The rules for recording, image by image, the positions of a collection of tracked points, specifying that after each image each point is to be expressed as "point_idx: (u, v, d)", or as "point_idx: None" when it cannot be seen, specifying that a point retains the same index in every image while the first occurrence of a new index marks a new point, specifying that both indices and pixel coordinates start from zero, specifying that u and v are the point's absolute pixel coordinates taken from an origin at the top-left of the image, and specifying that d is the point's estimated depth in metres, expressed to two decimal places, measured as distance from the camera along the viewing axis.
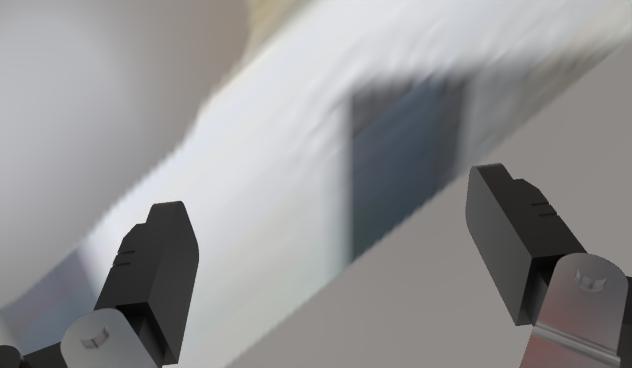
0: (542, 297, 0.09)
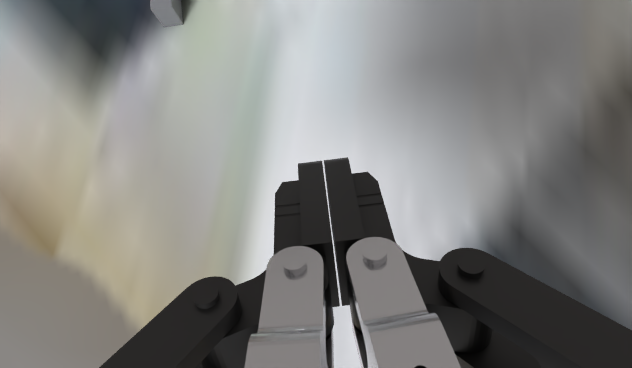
0: (347, 277, 0.10)
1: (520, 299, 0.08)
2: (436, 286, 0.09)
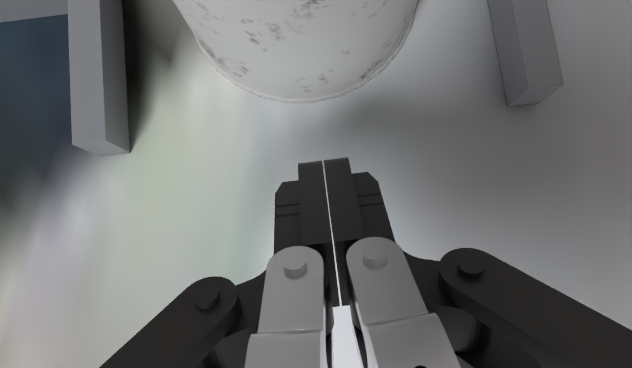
0: (347, 277, 0.10)
1: (520, 299, 0.08)
2: (436, 286, 0.09)
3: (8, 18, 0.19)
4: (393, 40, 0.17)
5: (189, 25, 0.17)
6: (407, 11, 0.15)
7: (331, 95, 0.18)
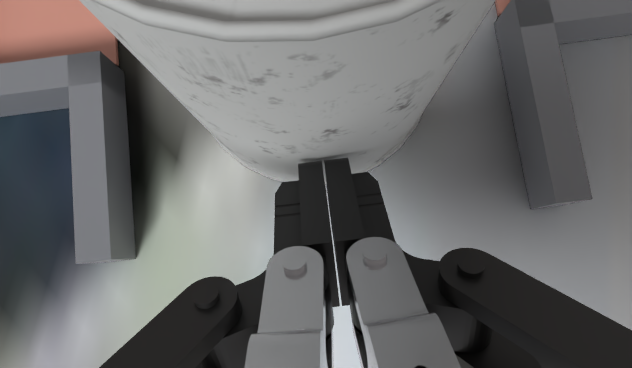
0: (347, 277, 0.10)
1: (520, 299, 0.08)
2: (436, 286, 0.09)
3: (7, 113, 0.18)
4: (410, 128, 0.16)
5: None
6: (426, 106, 0.15)
7: None
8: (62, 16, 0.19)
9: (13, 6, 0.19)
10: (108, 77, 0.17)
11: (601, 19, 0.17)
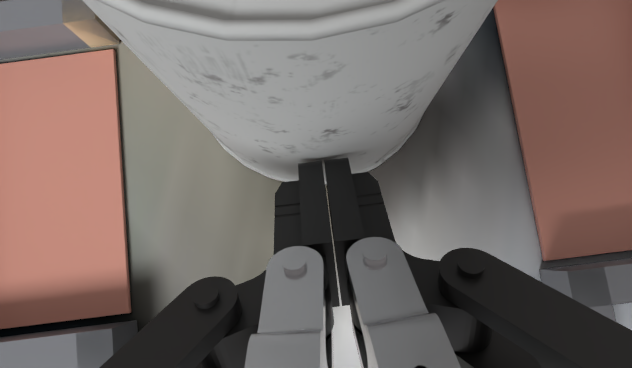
0: (347, 277, 0.10)
1: (520, 299, 0.08)
2: (436, 286, 0.09)
3: None
4: (410, 129, 0.16)
5: None
6: (426, 107, 0.15)
7: None
8: (69, 256, 0.17)
9: (16, 243, 0.17)
10: None
11: None
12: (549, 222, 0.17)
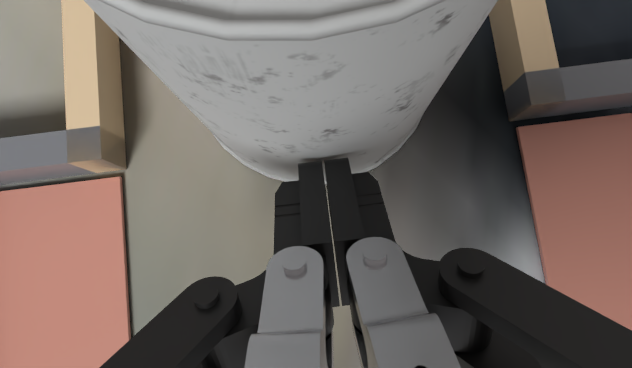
0: (347, 277, 0.10)
1: (520, 299, 0.08)
2: (436, 286, 0.09)
3: None
4: (410, 129, 0.16)
5: None
6: (426, 107, 0.15)
7: None
8: None
9: None
10: None
11: None
12: None
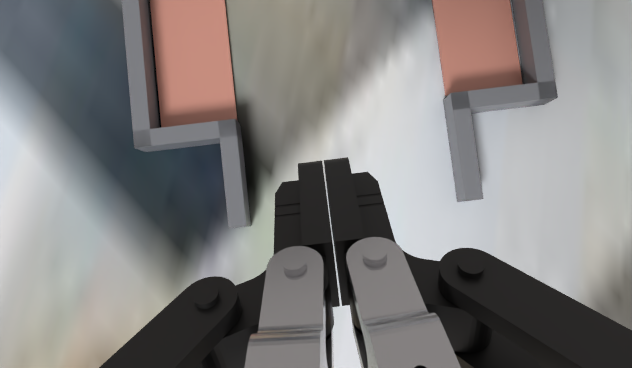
0: (347, 277, 0.10)
1: (520, 299, 0.08)
2: (436, 286, 0.09)
3: (178, 147, 0.34)
4: None
5: None
6: None
7: None
8: (205, 92, 0.34)
9: (177, 86, 0.34)
10: (237, 131, 0.33)
11: (495, 105, 0.32)
12: (449, 76, 0.34)
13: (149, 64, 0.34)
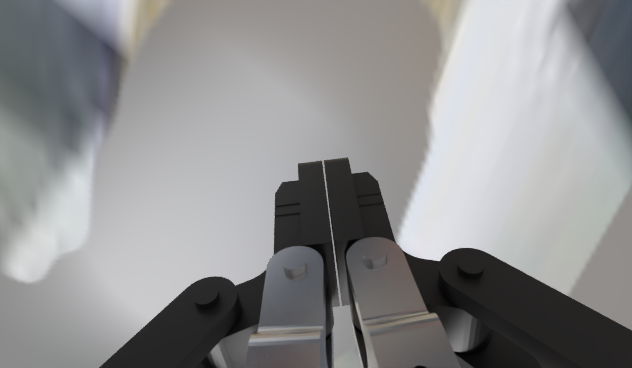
0: (347, 277, 0.10)
1: (520, 299, 0.08)
2: (436, 286, 0.09)
3: None
4: None
5: None
6: None
7: None
8: None
9: None
10: None
11: None
12: None
13: None
